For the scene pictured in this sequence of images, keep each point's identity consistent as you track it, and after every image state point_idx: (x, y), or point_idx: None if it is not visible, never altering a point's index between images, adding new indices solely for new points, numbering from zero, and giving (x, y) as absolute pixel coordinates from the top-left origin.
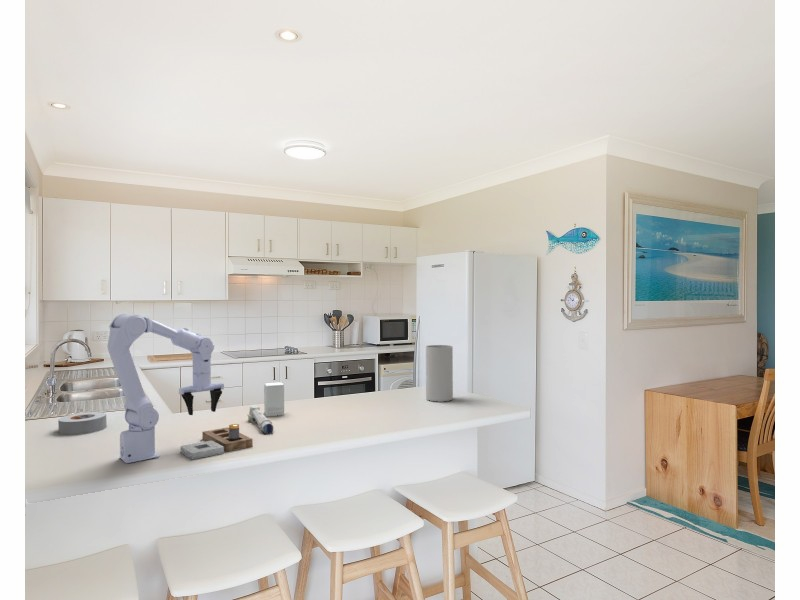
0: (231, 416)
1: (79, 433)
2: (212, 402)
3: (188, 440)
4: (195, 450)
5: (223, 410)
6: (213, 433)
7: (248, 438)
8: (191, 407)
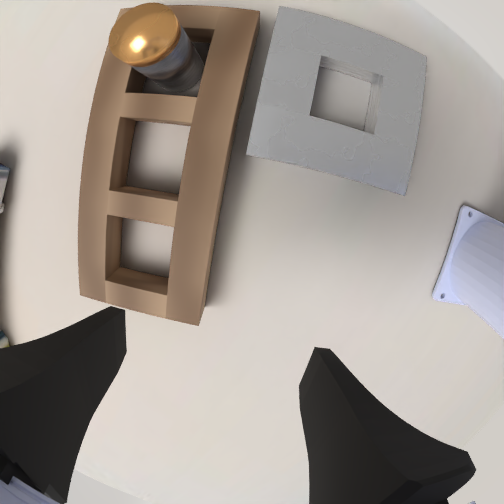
0: None
1: None
2: (89, 387)
3: (257, 334)
4: (400, 70)
5: None
6: (175, 250)
7: None
8: (353, 387)
